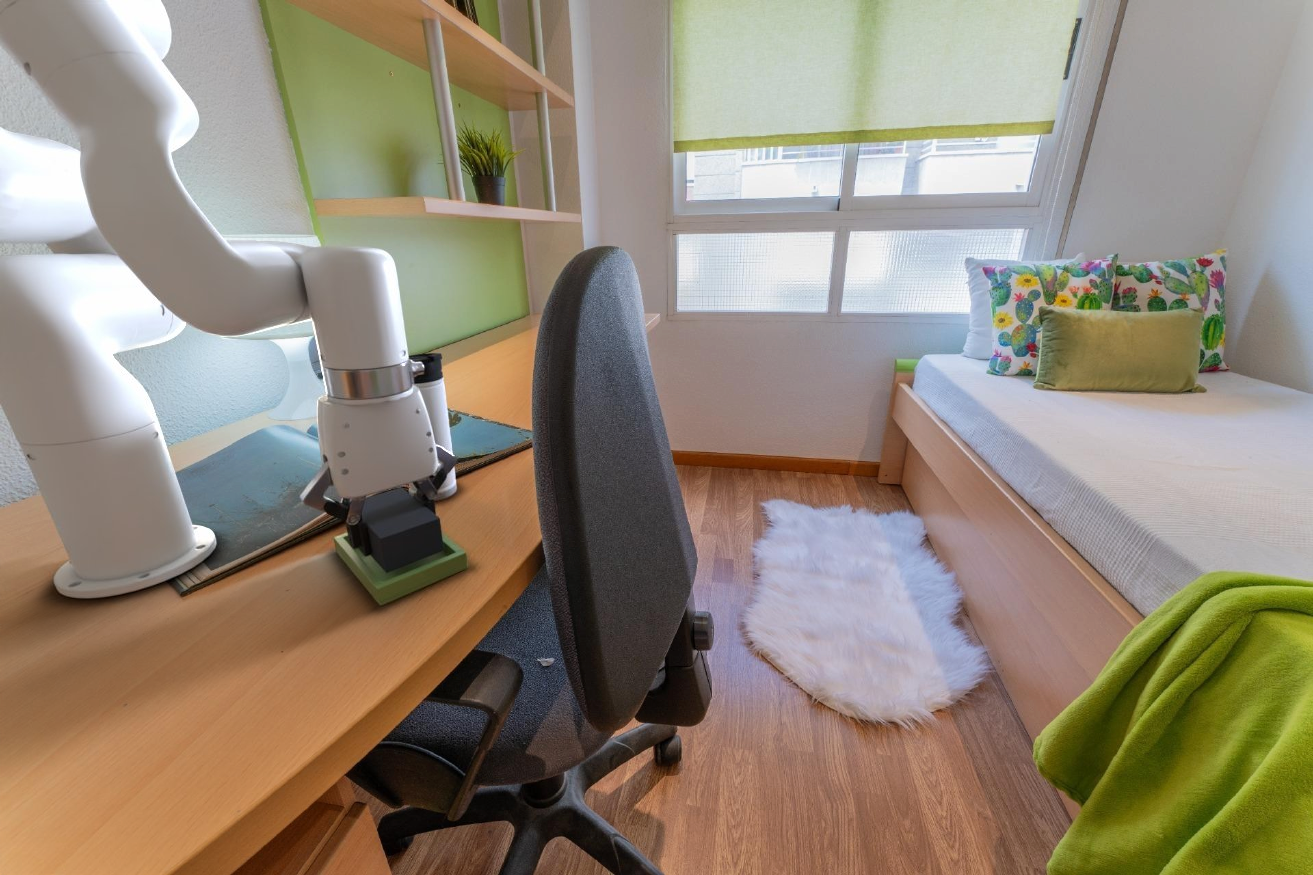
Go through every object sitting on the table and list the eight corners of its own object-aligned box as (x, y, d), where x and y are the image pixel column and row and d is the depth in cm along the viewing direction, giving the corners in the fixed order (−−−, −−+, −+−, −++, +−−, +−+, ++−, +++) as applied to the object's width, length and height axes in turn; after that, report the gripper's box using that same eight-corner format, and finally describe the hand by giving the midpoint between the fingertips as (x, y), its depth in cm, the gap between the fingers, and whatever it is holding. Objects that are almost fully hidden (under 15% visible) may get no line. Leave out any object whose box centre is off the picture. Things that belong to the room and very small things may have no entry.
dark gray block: (351, 535, 58) (345, 503, 57) (406, 517, 63) (401, 487, 61) (386, 573, 52) (380, 538, 51) (444, 550, 56) (440, 518, 55)
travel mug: (443, 505, 70) (423, 359, 63) (399, 499, 71) (375, 356, 64) (467, 485, 76) (452, 350, 69) (427, 480, 77) (408, 347, 70)
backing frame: (336, 552, 59) (332, 536, 59) (417, 523, 66) (415, 509, 65) (380, 606, 51) (377, 589, 50) (468, 567, 57) (466, 552, 56)
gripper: (438, 361, 59) (454, 502, 65) (253, 387, 47) (295, 555, 54) (470, 374, 54) (485, 524, 61) (274, 405, 43) (317, 588, 49)
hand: (396, 537), depth 57 cm, fingers closed on dark gray block, 5 cm apart
